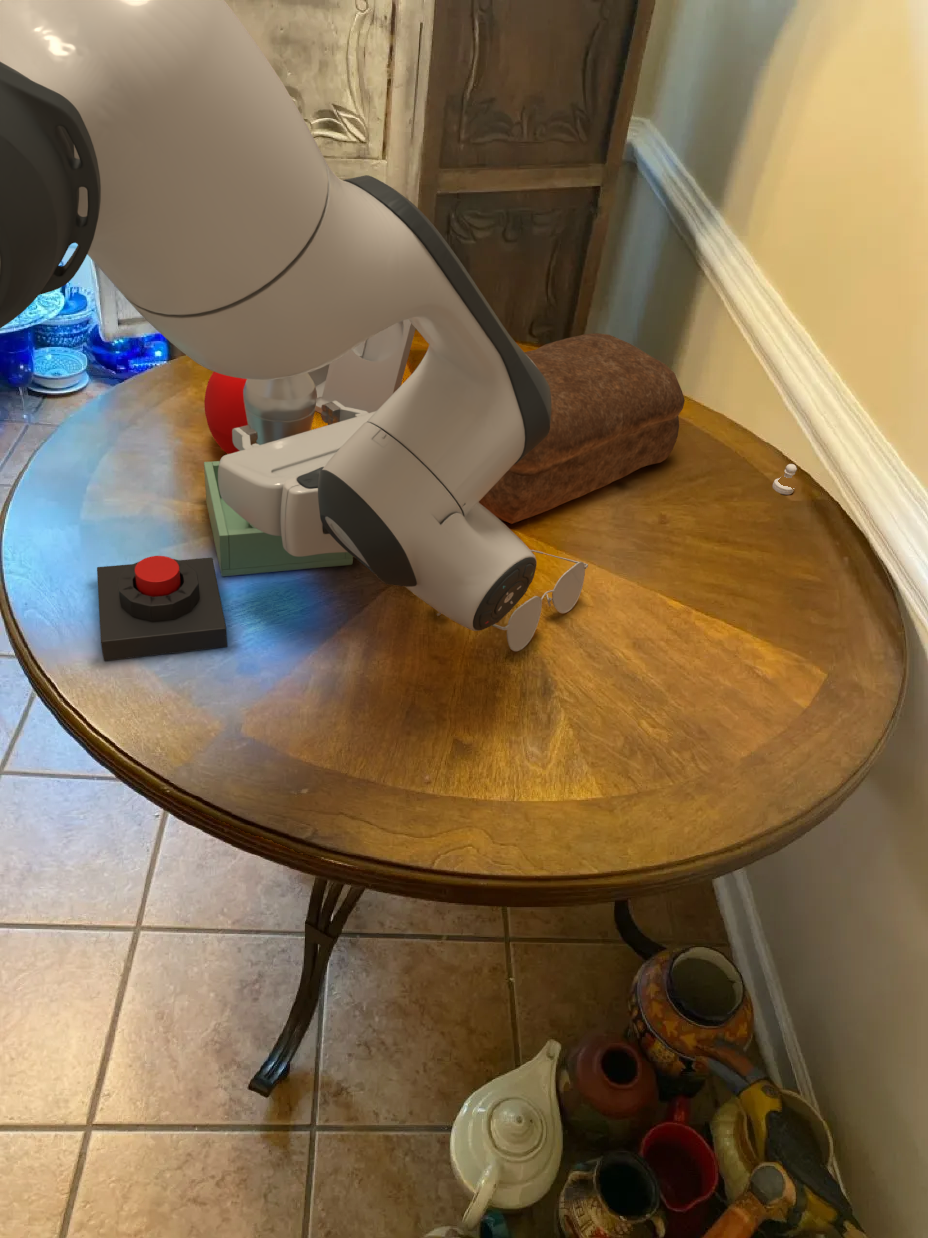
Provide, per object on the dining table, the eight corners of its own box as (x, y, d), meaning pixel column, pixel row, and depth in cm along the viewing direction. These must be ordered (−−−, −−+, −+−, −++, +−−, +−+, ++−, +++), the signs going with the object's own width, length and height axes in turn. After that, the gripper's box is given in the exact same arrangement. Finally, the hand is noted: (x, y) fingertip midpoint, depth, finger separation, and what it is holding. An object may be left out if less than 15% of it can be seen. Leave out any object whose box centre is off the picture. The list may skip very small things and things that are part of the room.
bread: (679, 462, 115) (711, 364, 106) (504, 536, 97) (526, 426, 89) (581, 402, 123) (604, 307, 115) (404, 461, 106) (416, 354, 97)
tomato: (188, 460, 100) (182, 369, 93) (229, 417, 108) (226, 330, 101) (279, 483, 99) (279, 392, 92) (314, 438, 107) (317, 352, 100)
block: (103, 661, 76) (97, 625, 73) (99, 585, 83) (94, 550, 80) (227, 647, 79) (225, 612, 76) (213, 575, 86) (211, 541, 83)
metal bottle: (236, 513, 93) (231, 323, 80) (301, 504, 95) (306, 319, 82) (254, 550, 88) (250, 356, 75) (321, 539, 91) (329, 351, 78)
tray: (221, 576, 86) (219, 535, 83) (206, 501, 95) (203, 461, 92) (352, 564, 90) (355, 525, 87) (326, 493, 99) (327, 455, 96)
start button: (137, 599, 77) (135, 583, 76) (135, 573, 79) (133, 557, 78) (182, 595, 78) (181, 579, 77) (178, 569, 80) (177, 553, 79)
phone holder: (263, 390, 114) (262, 243, 102) (311, 363, 121) (314, 223, 110) (382, 437, 109) (395, 289, 98) (424, 406, 116) (440, 264, 105)
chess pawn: (770, 490, 112) (780, 466, 110) (773, 481, 114) (783, 456, 112) (791, 497, 112) (802, 472, 109) (793, 487, 114) (804, 463, 111)
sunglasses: (504, 663, 82) (506, 618, 79) (432, 629, 86) (431, 585, 84) (586, 597, 91) (590, 554, 88) (517, 569, 95) (519, 527, 93)
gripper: (474, 431, 80) (377, 365, 87) (275, 497, 68) (181, 416, 75) (465, 491, 84) (372, 424, 91) (275, 564, 73) (186, 480, 79)
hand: (284, 421), depth 83 cm, fingers open, 8 cm apart
